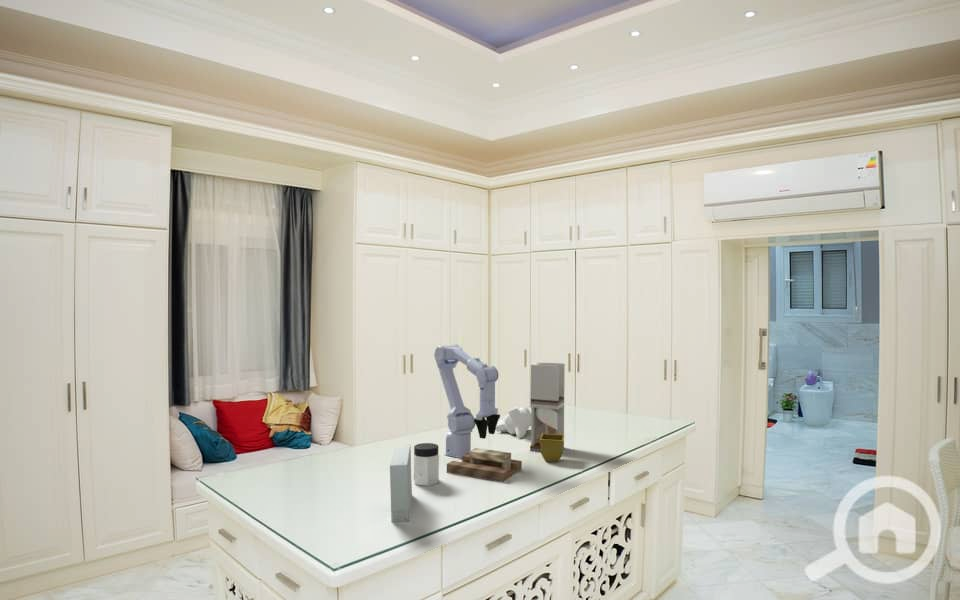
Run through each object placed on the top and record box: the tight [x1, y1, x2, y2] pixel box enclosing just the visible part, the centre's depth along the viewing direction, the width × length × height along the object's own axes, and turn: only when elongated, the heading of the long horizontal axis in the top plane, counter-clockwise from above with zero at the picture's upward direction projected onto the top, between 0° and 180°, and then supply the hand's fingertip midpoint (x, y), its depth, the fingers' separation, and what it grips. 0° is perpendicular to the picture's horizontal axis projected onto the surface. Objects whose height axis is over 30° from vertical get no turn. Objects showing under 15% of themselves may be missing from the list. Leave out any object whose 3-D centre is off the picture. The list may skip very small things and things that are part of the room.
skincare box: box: [389, 444, 413, 523], centre depth 162 cm, size 21×5×16 cm, turn 5°
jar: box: [413, 442, 440, 487], centre depth 185 cm, size 9×8×12 cm
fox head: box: [495, 405, 531, 439], centre depth 254 cm, size 13×17×20 cm
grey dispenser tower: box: [529, 361, 566, 453], centre depth 227 cm, size 11×11×35 cm
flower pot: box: [540, 434, 565, 463], centre depth 211 cm, size 9×9×9 cm
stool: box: [469, 447, 512, 471], centre depth 197 cm, size 14×5×6 cm, turn 64°
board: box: [446, 453, 523, 483], centre depth 198 cm, size 22×16×3 cm
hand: (487, 435), depth 206 cm, fingers open, 7 cm apart
